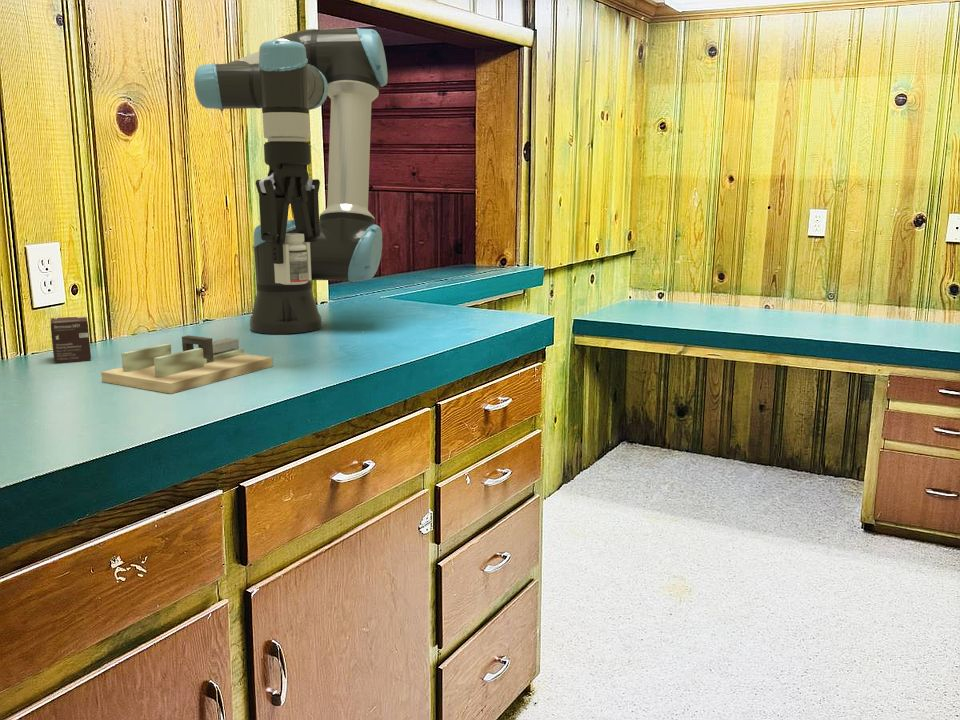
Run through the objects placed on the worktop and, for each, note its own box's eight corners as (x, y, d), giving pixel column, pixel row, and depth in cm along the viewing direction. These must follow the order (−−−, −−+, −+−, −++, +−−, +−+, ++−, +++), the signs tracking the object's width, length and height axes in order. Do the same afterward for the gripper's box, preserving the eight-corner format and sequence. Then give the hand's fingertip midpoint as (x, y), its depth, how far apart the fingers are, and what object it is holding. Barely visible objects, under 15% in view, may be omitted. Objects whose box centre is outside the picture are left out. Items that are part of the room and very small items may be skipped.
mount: (206, 357, 156) (204, 326, 155) (272, 366, 148) (271, 334, 147) (102, 381, 137) (98, 347, 136) (171, 393, 130) (168, 357, 128)
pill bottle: (277, 282, 147) (275, 233, 146) (305, 281, 149) (303, 232, 147) (282, 285, 143) (279, 235, 141) (310, 284, 145) (308, 234, 143)
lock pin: (229, 351, 153) (228, 338, 152) (239, 352, 152) (238, 339, 151) (199, 358, 147) (198, 344, 146) (209, 359, 146) (208, 346, 145)
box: (53, 364, 151) (49, 323, 149) (54, 357, 156) (49, 318, 155) (91, 360, 153) (87, 320, 152) (90, 354, 159) (86, 315, 157)
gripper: (304, 143, 151) (310, 275, 155) (230, 139, 135) (239, 285, 140) (338, 142, 147) (343, 277, 152) (266, 138, 132) (274, 288, 137)
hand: (293, 281), depth 146 cm, fingers closed on pill bottle, 5 cm apart
